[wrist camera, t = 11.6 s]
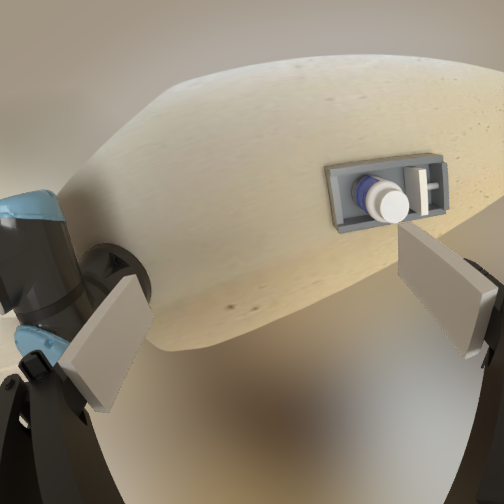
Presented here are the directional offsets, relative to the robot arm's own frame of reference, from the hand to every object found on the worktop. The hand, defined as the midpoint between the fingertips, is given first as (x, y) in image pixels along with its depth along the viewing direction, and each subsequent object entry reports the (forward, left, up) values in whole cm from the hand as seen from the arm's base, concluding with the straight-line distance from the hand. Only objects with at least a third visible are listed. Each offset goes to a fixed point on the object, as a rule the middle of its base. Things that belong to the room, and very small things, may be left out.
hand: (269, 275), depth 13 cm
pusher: (+23, -4, -28) cm, 36 cm away
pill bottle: (+14, -4, -28) cm, 32 cm away
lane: (+17, -4, -29) cm, 34 cm away
